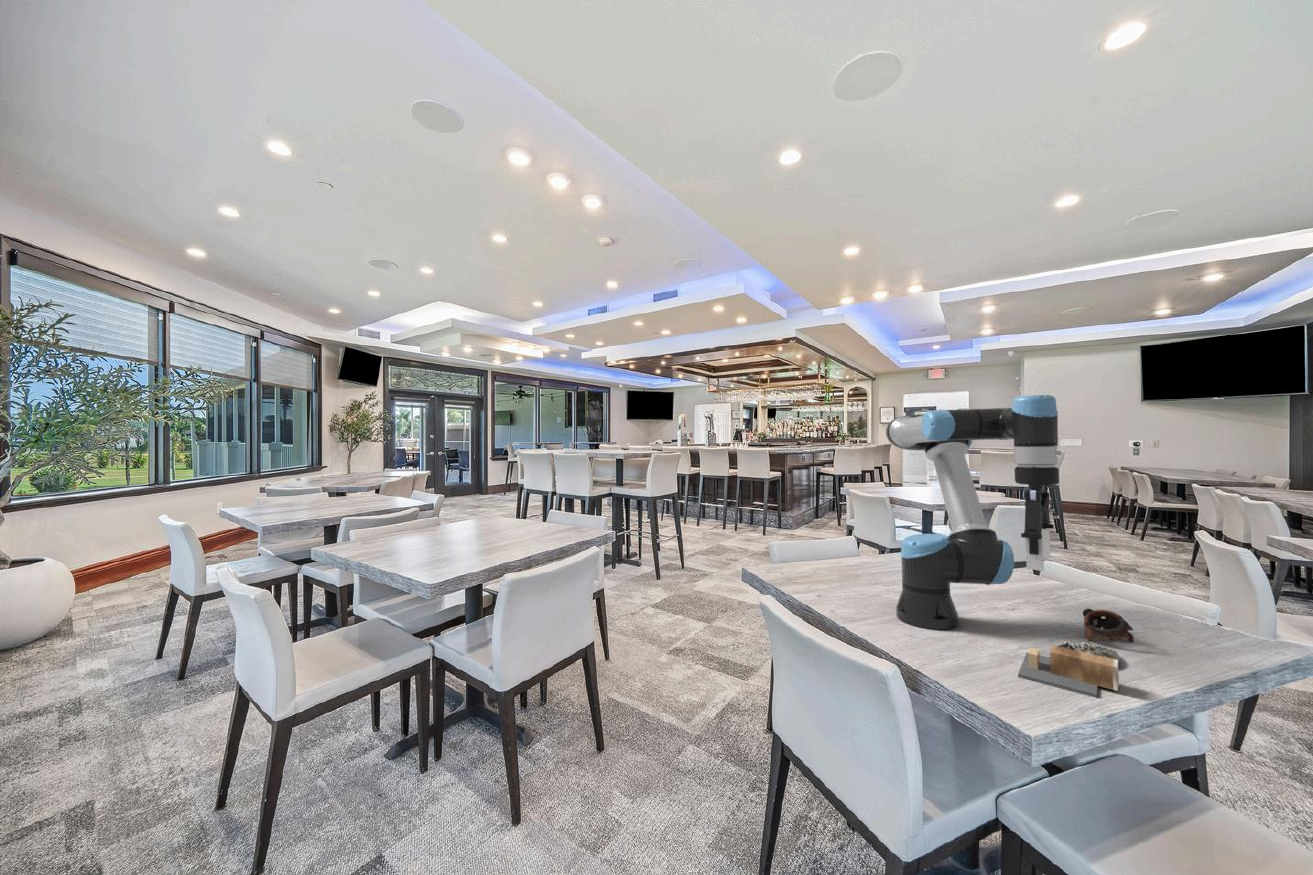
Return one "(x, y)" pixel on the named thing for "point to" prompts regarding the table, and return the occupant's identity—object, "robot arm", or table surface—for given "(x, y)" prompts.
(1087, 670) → the teak block
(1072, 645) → the oyster shell
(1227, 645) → the table surface
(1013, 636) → the table surface
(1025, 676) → the board
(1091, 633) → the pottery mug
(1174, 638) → the table surface
